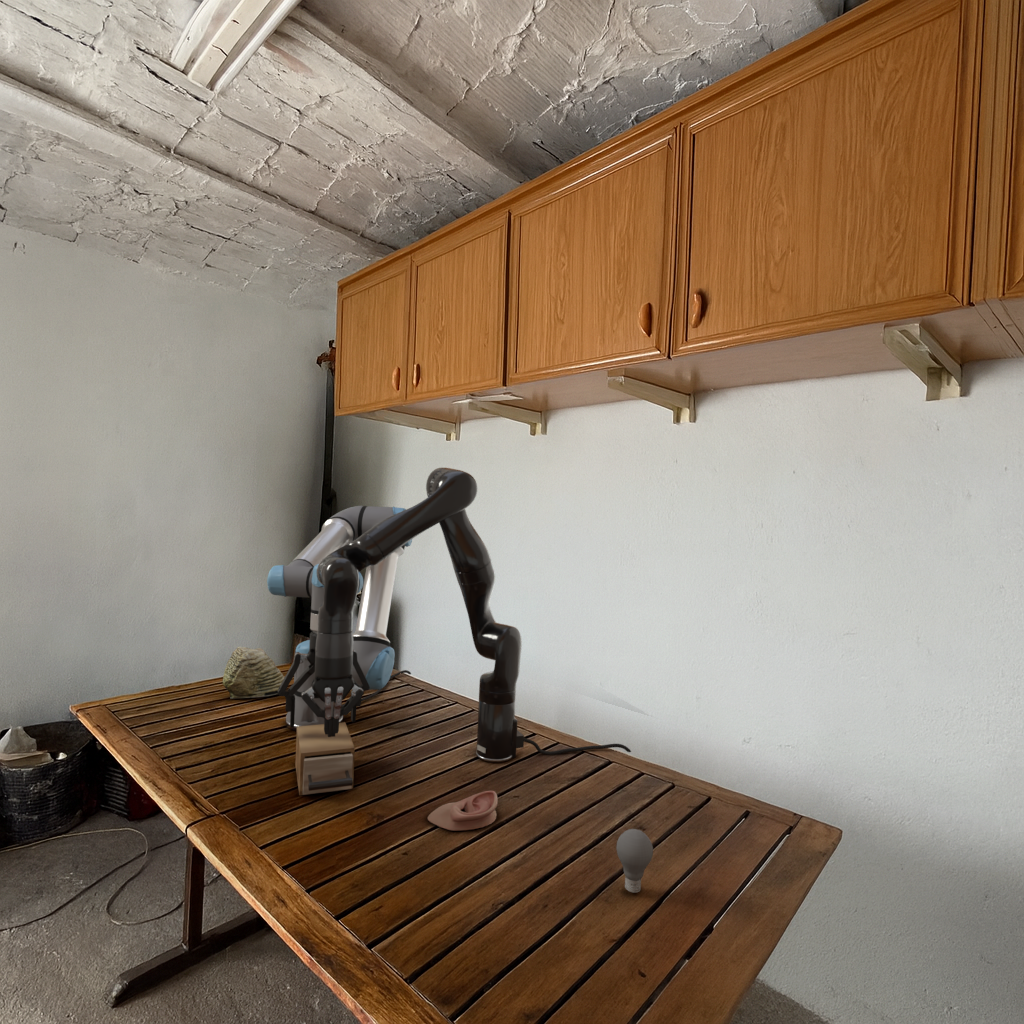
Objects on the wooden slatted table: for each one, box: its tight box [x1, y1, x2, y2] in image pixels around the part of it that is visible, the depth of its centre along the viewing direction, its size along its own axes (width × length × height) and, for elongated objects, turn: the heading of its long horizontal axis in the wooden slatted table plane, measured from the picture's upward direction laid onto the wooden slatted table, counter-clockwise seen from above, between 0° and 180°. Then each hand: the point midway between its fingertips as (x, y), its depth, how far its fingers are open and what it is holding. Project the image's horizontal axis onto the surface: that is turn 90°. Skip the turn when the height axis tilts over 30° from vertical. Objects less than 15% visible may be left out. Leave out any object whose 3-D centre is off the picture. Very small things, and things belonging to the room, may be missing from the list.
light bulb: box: [615, 828, 654, 894], centre depth 106 cm, size 6×6×10 cm
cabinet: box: [294, 721, 356, 796], centre depth 143 cm, size 16×11×9 cm
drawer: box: [302, 752, 354, 796], centre depth 138 cm, size 21×10×7 cm, turn 22°
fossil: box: [222, 646, 285, 699], centre depth 198 cm, size 9×18×15 cm, turn 132°
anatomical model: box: [427, 790, 499, 832], centre depth 127 cm, size 13×4×12 cm
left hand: (323, 723), depth 146 cm, fingers open, 13 cm apart
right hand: (331, 735), depth 131 cm, fingers closed
